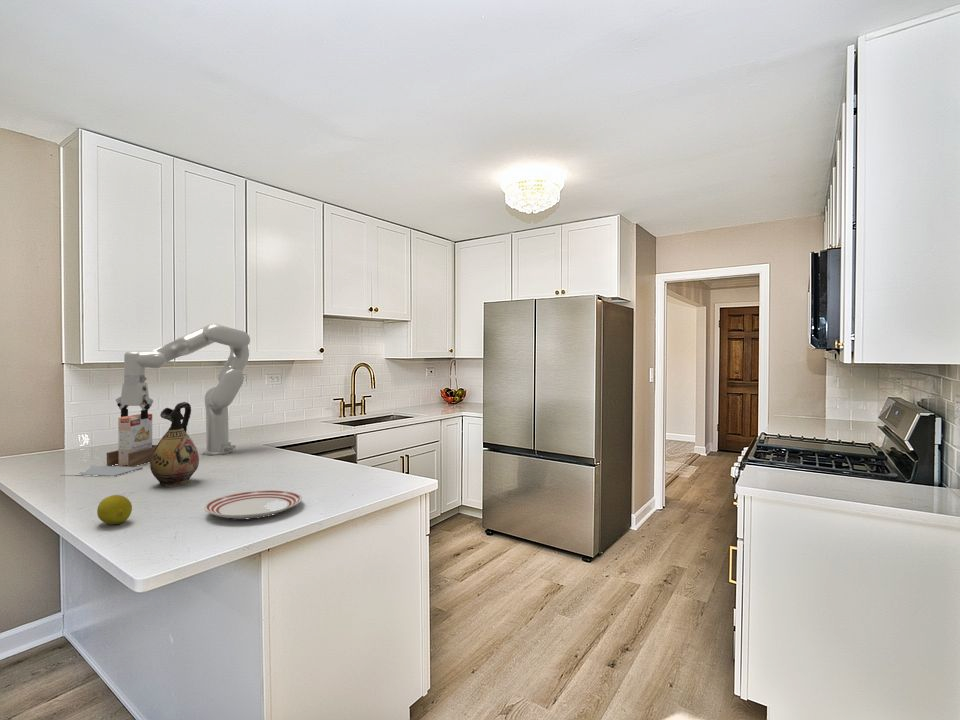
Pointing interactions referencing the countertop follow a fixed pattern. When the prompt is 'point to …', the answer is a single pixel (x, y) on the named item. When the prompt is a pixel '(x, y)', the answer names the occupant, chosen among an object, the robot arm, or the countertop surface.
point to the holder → (132, 457)
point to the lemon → (114, 509)
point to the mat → (109, 470)
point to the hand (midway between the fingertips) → (134, 418)
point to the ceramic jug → (175, 450)
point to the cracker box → (133, 436)
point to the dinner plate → (250, 503)
